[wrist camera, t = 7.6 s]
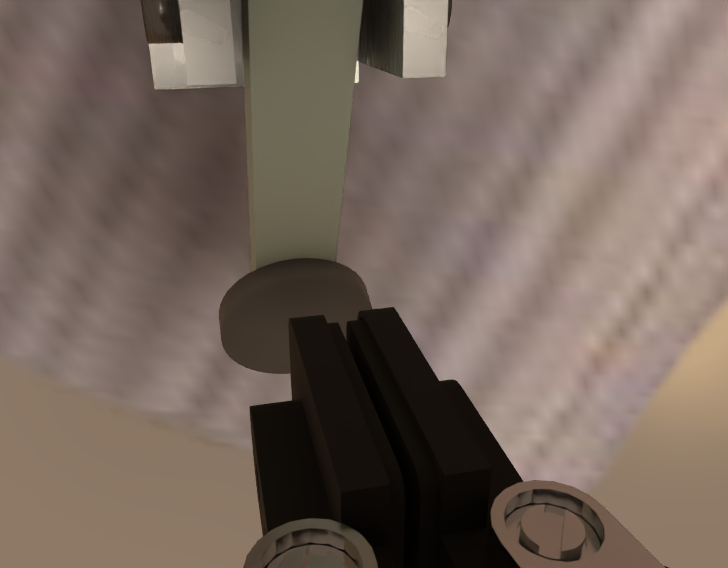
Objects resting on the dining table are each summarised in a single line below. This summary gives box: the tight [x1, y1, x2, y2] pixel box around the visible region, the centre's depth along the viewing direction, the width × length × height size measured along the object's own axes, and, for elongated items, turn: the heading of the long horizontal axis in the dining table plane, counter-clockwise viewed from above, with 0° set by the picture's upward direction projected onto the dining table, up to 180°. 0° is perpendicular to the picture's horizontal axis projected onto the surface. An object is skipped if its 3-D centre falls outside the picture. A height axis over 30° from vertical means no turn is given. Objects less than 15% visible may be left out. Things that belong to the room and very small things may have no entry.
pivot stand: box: [141, 0, 452, 90], centre depth 13 cm, size 4×5×10 cm
